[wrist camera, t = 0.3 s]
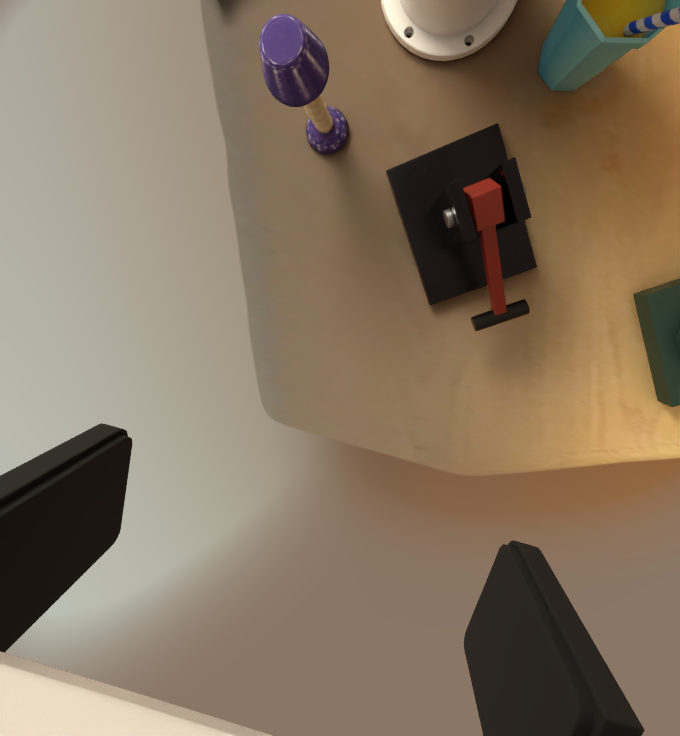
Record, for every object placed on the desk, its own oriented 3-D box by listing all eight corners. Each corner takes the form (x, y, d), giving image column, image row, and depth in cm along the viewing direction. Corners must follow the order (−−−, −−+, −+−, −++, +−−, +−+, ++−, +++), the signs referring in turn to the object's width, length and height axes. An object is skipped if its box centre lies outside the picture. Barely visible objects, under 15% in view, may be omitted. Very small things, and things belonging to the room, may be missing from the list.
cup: (628, 133, 38) (780, 46, 23) (543, 164, 39) (637, 100, 25) (598, -33, 35) (748, -245, 21) (508, 6, 37) (591, -168, 22)
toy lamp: (317, 167, 41) (275, 99, 25) (291, 126, 41) (231, 29, 25) (356, 137, 40) (338, 46, 24) (330, 94, 40) (294, -28, 24)
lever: (521, 305, 39) (532, 319, 37) (470, 323, 40) (478, 337, 38) (507, 170, 31) (520, 178, 29) (444, 195, 32) (453, 205, 30)
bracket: (532, 267, 42) (589, 265, 30) (428, 304, 43) (445, 315, 32) (494, 127, 39) (540, 67, 28) (386, 173, 41) (387, 135, 29)
